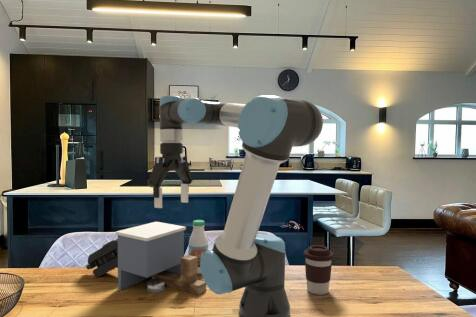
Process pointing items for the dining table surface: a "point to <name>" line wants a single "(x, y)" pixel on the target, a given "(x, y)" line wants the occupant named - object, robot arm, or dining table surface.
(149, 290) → the puck
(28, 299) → the dining table surface
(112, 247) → the tool
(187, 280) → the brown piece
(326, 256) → the coffee cup
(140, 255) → the cabinet
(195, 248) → the milk bottle
